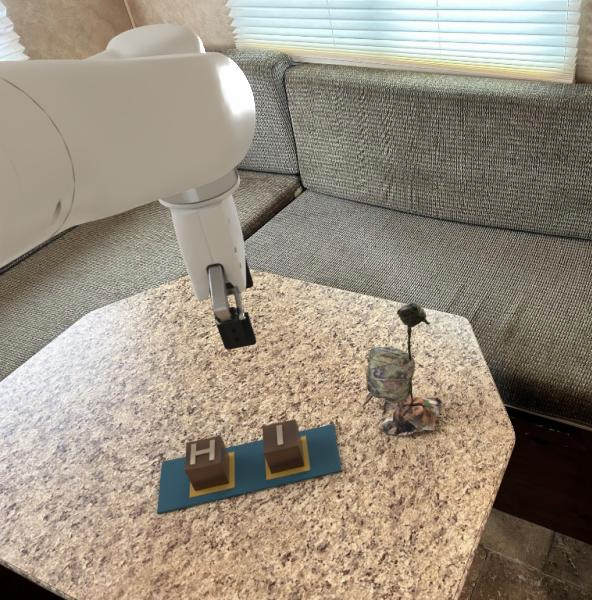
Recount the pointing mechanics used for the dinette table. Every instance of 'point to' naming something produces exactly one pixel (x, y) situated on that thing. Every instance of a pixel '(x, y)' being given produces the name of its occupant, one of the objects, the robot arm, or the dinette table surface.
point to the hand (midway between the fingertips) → (240, 315)
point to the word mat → (250, 471)
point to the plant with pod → (400, 383)
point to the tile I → (283, 446)
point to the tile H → (207, 463)
